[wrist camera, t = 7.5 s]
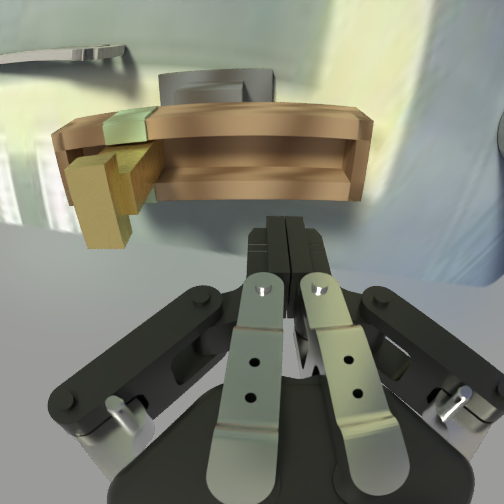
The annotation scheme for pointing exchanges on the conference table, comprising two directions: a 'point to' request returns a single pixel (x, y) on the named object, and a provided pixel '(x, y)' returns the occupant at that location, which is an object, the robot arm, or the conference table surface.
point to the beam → (233, 140)
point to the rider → (113, 189)
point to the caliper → (65, 54)
